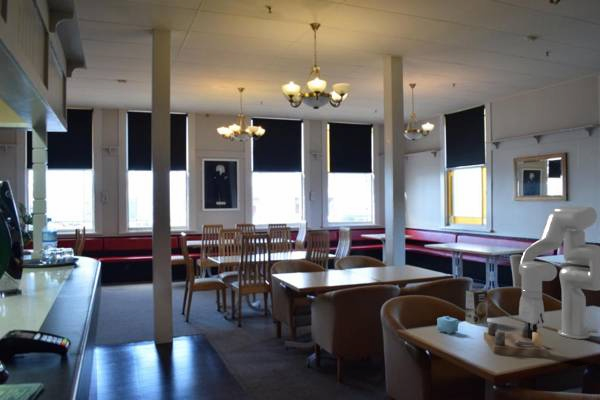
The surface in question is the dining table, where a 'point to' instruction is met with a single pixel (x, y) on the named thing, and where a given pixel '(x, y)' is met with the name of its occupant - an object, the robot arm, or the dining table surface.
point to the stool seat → (511, 342)
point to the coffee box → (476, 306)
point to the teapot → (447, 324)
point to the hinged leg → (535, 340)
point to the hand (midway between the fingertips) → (532, 338)
